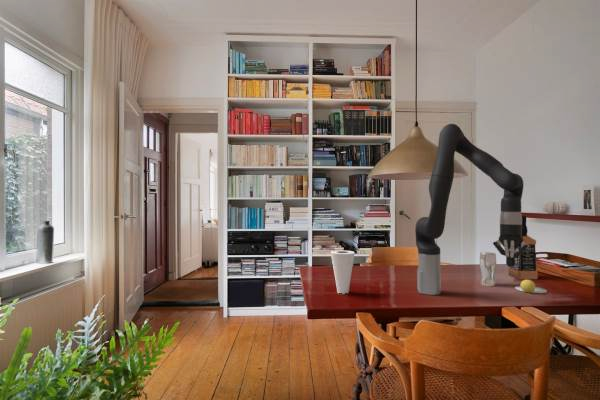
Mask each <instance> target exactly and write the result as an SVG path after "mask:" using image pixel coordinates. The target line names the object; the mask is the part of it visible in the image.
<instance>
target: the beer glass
mask: <svg viewBox="0 0 600 400" xmlns="http://www.w3.org/2000/svg"><path fill="white" fill-rule="evenodd" d="M496 254H497V253H495V252H487V251H485V252H480V253H479V269H480V273H481V280H480V285H482V286H485V287H486V286H487V287H494V286H496V280H495V274H496V270H497V255H496Z"/></svg>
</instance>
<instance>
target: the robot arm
mask: <svg viewBox="0 0 600 400" xmlns="http://www.w3.org/2000/svg"><path fill="white" fill-rule="evenodd" d="M438 135H439V137H438V143H437V145H438V146H437V153H436V156H435V160H434V164H433V168H432V170H431V171H432V173H431V174H430V180H429V184H428V193H429V197H430V211H429V214H428V216H422V217H419V219H418V220H417V221H416V223H415V229H414V230H415V232H414V233H415V245H416V247H417V263H418V265H417V266H418V268H417V269H416V276H417V277H416V278H417V279H416V280H417V285H416V286H417V288H416V289H417V291H418V293H419V294H423V295H430V296H436V295H440V294H441V291H442V290H441V289H442V288H441V287H442V285H441V283H442V282H441V277H442V276H441V273H442V272H441V248H440V246H439V245H438V244H437V243H436V240H437V239H438V238H440V237H441V236H442V235H443V233H444V231H445V230H444V229H445V224H446V215H447V210H448V204H449V197H450V194H451V190H452V187H453V186H452V185H453V182H454V177H455V152H456V153H458V154H460V155H461V156H463V157H464V158H465V159H467V160H468V161H469V162H470V163H471V164H473V165H474V166H475V167H476V168H478V170H480V171H481V172H482V173H484V174H485V175H486V176H487V177H489V178H490V179H491V180H492V181H493V182H494V183H495V184H496V185H497V186H498V187H500V188H501V189H503V197H502V198H501V201H500V215H499V237H498V240H496V241H493V242H492V245H494V247H495V248H496V250H497V251H498V252H499V254H500V255H502V256H504V257H505V261H506V262H505V264H506V265H507V267H508V268H510V267H513V266H514V265H515V258H516V257H518V256H521V255H522V254H523V253H524V252H525V251H526V250H527V249H528V247H529V246H530V245H529V244H526V243H525V242H523V238H522V216H523V214H522V197H523V192H524V180H523V177H522V176H521V175H519V174H518V173H514V172H512V171H511V170H509V169H508V168H507V167H505V166H504V165H503V163H502V162H501V161H499V160H498V159H496V158H495V157H494V156H492V155H491V154H489V153H488V152H486V151H484V150H482V149H481V148H479V147H477V145H474V144H473V143H472V142H471V141H470V140H469V139H468V138H467V137H466V136H465V134H464V132H463V130H462V129H461V128H460V126H459V125H457V124H455V123H447V124H446V125H445V126H443V127H442V129H441V130H440V132H439V134H438ZM521 244H522V245H521ZM520 245H521V249H520V250H519V251H518V252H517V253H516V251H517V248H518V247H519V246H520ZM502 246H503V247H504V248H503V247H502Z"/></svg>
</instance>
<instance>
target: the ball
mask: <svg viewBox="0 0 600 400" xmlns="http://www.w3.org/2000/svg"><path fill="white" fill-rule="evenodd" d="M519 286H521V289H522V290H523V291H522V292H524V291H525V293H529V294H531V293H530V292H533V291H534V290H535V287H536V284H535V282H534V281H533V280H532V279H522V281H521V282H520V284H519Z"/></svg>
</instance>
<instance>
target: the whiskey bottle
mask: <svg viewBox="0 0 600 400" xmlns="http://www.w3.org/2000/svg"><path fill="white" fill-rule="evenodd" d="M528 231H529V230H528V226H527V216H526V215H522V238H523V242H525V243H526V244H529V245H530V246H529V247H528V249H527V250H526V251H525V252H524V253H523V254H522V255H521V256H518V257H516V258H515V265H514V266H513V267H508V276H510V277H512V278H515V279H518V280H538V278H539V275H538V274H539V273H538V270H537V257H536V256H537V255H536V245H537V240H536V239H534V238H533V237H531V236H529V235H528ZM521 245H522V244H521ZM521 245H520V246H519V247H518V248H517V251H516V253H517V252H518V251H519V250H520V249H521Z"/></svg>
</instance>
